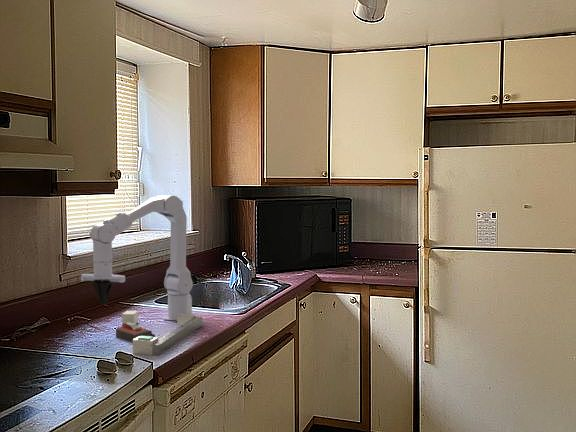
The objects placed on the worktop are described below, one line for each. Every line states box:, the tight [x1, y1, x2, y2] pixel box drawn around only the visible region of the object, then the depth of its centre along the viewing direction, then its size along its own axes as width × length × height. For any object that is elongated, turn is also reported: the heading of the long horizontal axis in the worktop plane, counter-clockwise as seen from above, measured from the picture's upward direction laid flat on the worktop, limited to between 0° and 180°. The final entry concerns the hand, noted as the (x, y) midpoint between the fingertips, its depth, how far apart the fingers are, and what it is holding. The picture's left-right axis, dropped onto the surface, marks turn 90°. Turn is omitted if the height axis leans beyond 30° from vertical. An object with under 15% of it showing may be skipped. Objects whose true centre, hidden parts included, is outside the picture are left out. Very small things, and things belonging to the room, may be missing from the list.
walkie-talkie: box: [115, 322, 156, 343], centre depth 194 cm, size 9×4×20 cm
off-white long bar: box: [132, 313, 203, 356], centre depth 190 cm, size 35×8×4 cm, turn 168°
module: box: [121, 310, 139, 325], centre depth 208 cm, size 5×4×4 cm
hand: (103, 303), depth 196 cm, fingers closed
